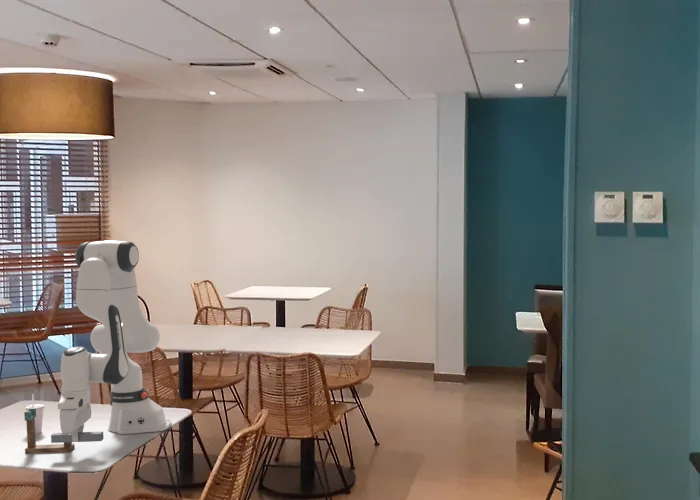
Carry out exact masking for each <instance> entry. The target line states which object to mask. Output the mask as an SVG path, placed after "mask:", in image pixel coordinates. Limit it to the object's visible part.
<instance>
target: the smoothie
mask: <svg viewBox="0 0 700 500" xmlns="http://www.w3.org/2000/svg"><path fill="white" fill-rule="evenodd" d="M34 400H35V397H34V394H33V393H32V394H31V402H32V403H31V404H29V405H26V406H25V412H29V409H30V408H36V417H35V435H37V434H40V433H42V431H43V430H42V428H43V418H44V409H45V405H44V404H43V403H36V404H35V401H34Z"/></svg>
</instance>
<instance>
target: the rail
mask: <svg viewBox="0 0 700 500" xmlns="http://www.w3.org/2000/svg"><path fill="white" fill-rule="evenodd" d="M78 435H79V441H78V442H77V443H81V442H82V443H88V442H89V443H90V442H102V441H103V440H104V431H83V432H78ZM64 442H72V443H74V442H73V441H72V436H71V434H63V433H62V432H54V433H52V434H51V435H50V443H51V444H60V443H61V444H64Z"/></svg>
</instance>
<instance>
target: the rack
mask: <svg viewBox="0 0 700 500" xmlns="http://www.w3.org/2000/svg"><path fill="white" fill-rule="evenodd" d="M23 413H24V421H26V438H27V439H26V441H27V443H26V444H27V447H26V448H25V449H24V453H25V454H43V453H48V454H49V453H51V454H52V453H71V452H72V451H73V450H75V443H73V442H64V443H61V444H60V443H51V444H37V443H36V442H37V441H36V439H37V438H36V434H35V417H36V408H30V409H29V412H27V411H24V412H23Z"/></svg>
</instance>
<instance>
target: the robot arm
mask: <svg viewBox="0 0 700 500" xmlns="http://www.w3.org/2000/svg"><path fill="white" fill-rule="evenodd" d="M74 254H75V256H74V257H75V258H74V259H75V263H76V265H77V267H78V274H77V279H76V291H75V303H76V306H77V308H78V310H79V311H80V312H81V313H82V314H83V315H85V316H87V317H88V318H91V319H93V320H95V321H98V322H99V323H100V324H97V325H95V326H94V328H93V329H92V331H91V332H90V338H89V340H90V344H91V346H92V347H93V349H94V350H95V351H96V352H98V353H94V352H93V353H92V352H89V351H88V350H87V348H86V347H84V346H73V347H68V348H67V349H65V350H64V351H63V352H62V354H61V359H60V378H61V381H62V385H61V395H60V398H59V401H58V403H57V409H58V410H60V411H59V423H60V424H59V425H60V430H61V433H63V434H71V436H72V441H73V442H72V443H79V442H78V441H79V435H78V432H84V428H85V423H86V422H88V421H89V420H90V419H91V418H92V417H91V416H92V407H91V406H92V405H91V401H92V400H91V385H90V383H95V384H96V383H97V384H98V383H99V384H100V383H101V384H109V385H111V386H110V389H111V390H110V391H109V393H110V394H109V403H110V406H111V408H110V409H111V410H110V420H109V425H108V427H107V430H108V431H110V432H113V433H116V434H118V435H132V434H142V433H144V434H145V433H154V432H155V433H157V432H162V431H165V430H167V429H169V428H170V427H171V425H172V421H171V419H170V418H166V417H165V410H164V407H162V406H161V405H159V404H158V403H156V402H155V401H153V400H152V399H150V398H149V389H148V388H147V389H145V388H143V371H142V368H141V366H140V365H139V364H138V363H137V362H135V361H133V360H132V359H131V358H130V357H129V354H128V353H130V354H131V353H135V354H137V353H139V354H142V353H147V352H151V351H155V349H157V347H158V345H159V343H160V338H161V336H160V330H159V329H158V328H157V327H156V325H154V324H153V323H151V321H149V320H148V318H147V317H146V316H145V314H144V313H143V311H142V310H141V309H142V308H141V306H140V301H139V297H138V296H139V295H138V294H139V293H138V287H137V286H138V285H137V276H136V269H135V268H136V267H137V265H138V263H139V257H140V254H139V249H138V247H137V246H136V244H135V243H134V242H132V241H128V240H113V239H112V240H107V239H106V240H97V241H86V242H82V243H80V244H79V246H78V247H77V249H76V250H75V253H74Z"/></svg>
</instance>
